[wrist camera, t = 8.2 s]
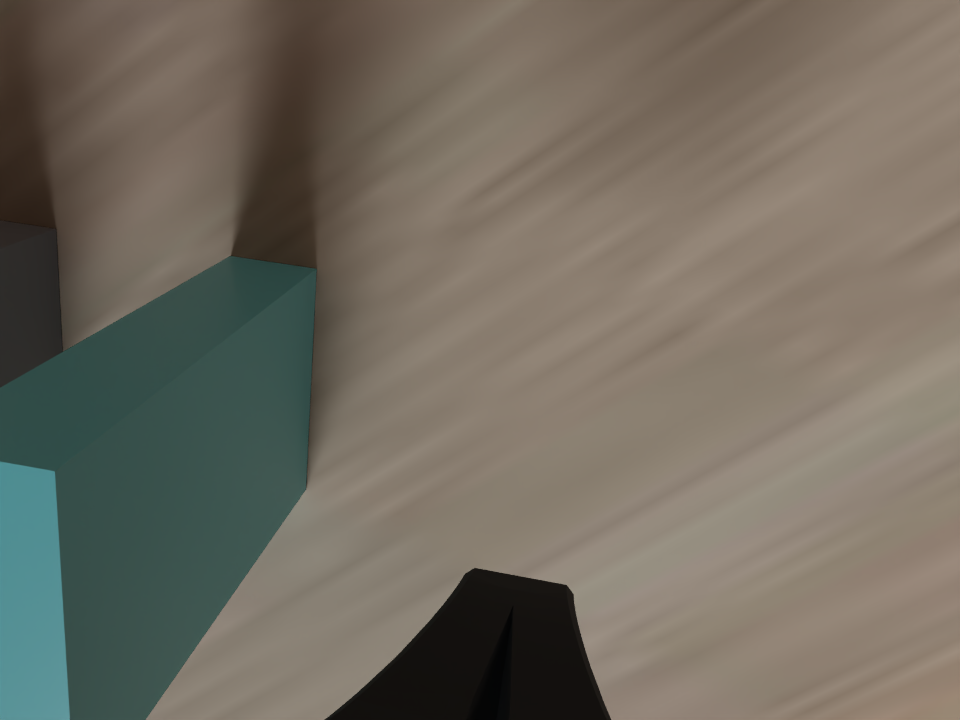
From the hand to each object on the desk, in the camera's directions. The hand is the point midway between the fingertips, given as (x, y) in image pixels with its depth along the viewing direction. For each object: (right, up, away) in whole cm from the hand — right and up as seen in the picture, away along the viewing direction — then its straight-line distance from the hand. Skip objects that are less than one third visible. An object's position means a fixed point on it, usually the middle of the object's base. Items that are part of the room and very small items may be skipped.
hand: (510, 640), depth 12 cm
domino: (-5, +3, +7) cm, 9 cm away
